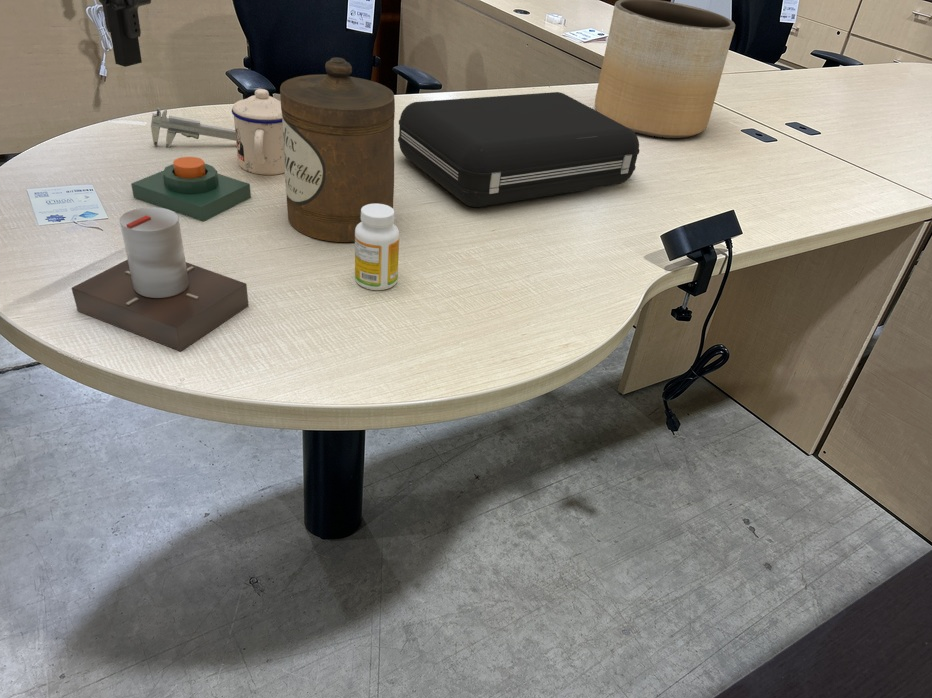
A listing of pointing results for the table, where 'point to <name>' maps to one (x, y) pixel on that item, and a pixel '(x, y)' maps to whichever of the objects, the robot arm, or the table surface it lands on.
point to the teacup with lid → (259, 134)
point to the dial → (155, 251)
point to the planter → (662, 67)
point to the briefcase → (516, 146)
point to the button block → (192, 192)
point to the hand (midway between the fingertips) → (128, 63)
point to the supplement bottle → (376, 248)
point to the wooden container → (336, 150)
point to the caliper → (185, 128)
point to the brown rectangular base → (162, 305)
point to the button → (189, 167)
